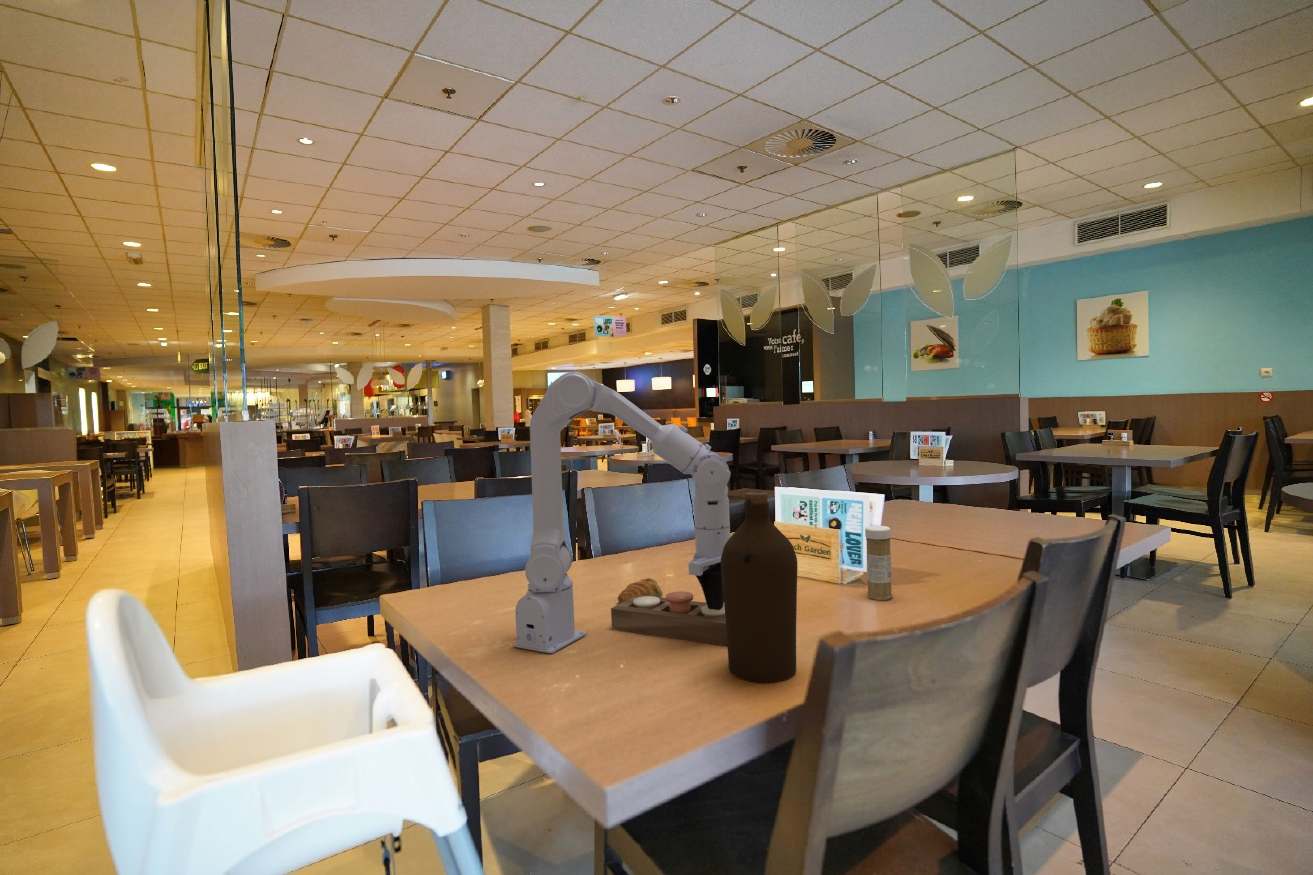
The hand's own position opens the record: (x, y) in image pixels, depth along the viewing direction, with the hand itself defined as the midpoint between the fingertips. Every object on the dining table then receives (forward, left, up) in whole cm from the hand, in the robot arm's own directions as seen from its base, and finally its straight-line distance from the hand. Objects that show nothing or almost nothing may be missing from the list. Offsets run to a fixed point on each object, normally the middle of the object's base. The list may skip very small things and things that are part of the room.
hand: (715, 608), depth 108 cm
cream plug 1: (0, +13, -4) cm, 14 cm away
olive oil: (-11, -12, -4) cm, 17 cm away
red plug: (0, +6, -2) cm, 7 cm away
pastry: (+12, +22, -5) cm, 25 cm away
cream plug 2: (0, 0, -4) cm, 4 cm away
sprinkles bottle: (+30, -20, -4) cm, 37 cm away
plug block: (0, +7, -4) cm, 8 cm away
